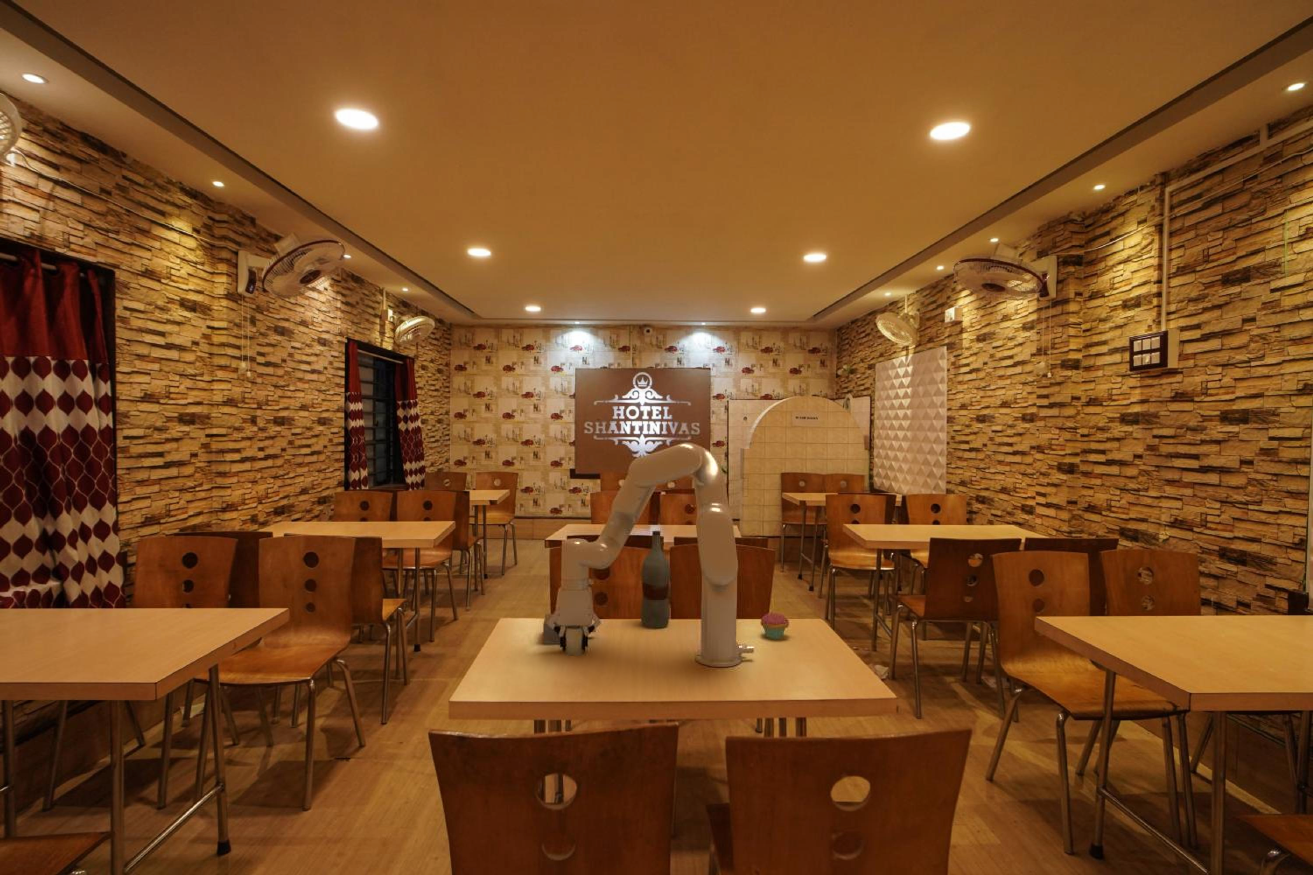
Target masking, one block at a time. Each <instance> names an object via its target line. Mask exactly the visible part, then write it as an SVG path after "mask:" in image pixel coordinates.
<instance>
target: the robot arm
mask: <svg viewBox="0 0 1313 875" xmlns="http://www.w3.org/2000/svg"><path fill="white" fill-rule="evenodd" d="M627 471H628V473H627V476H626V477H625V479H624V481H623V483H622V484H621V487H620V488H619V490H618V491H617V494H616V495H615V498H614V499H613V501H612V505H611V511H610V513H609V516H608V519H607V521H606V523H605V525H604V527H603V529H602V530H601V533H600V534H599V536H598V538H597V539H596V540H595V541H588V540H586V539H585V538H567V539H564V541H563V542H562V543H561V544H562V545H561V575H560V576H561V580H560V584H561V586H560V587H559V588H558V591H557V597H556V604H555V611H556V613H555V614H554V613H553V614H554V615H553V616H552V618H551V619H550V620H549V621H548V626H550V627H551V628H552V629H554V631H555V632H556V633H557V634H558V635H559V636H560V644H559V647H560V648H561V649H562V650H561V651H562V652H565V632H564V631H565V628H566V626H583V630H584V634H583V652H586V648H588V647H589V635H590V634H592V633H593V632H592V631H593V630H594V629H595V628H596V629H597V628H598V627H599V626H600V625H601V624H602V621H601V620H600V618H599V617H598V616H597V614H596V613H595V612H594V604H593V603H594V602H593V601H594V600H593V591H592V587H590V586H591V585H593V586H594V584H595V582H594V581H595V580H594V579H591V578H590V577H589V576H590V575H589V571H590V568H592V569H597V570H598V569H599V570H603V569H604V570H605V569H607V568H609V567H610V566H611V565H612V563H613V562H614V561H615V560H616V559H617V558H618V556H619V554H620V553H621V551H622V549H623V548H624V546H625V544H626V542H627V540H628V538H629V536H630V535H631V533H632V531H633V528H634V527H635V525H637V523H638V522H639V519H640V518H641V515H642V514H643V512H644V510H645V508H646V506H647V505H648V502H649V501H650V499H651V498H652V497H651V496H652V495H653V493H654V492H655V491H656V488H657V487H658V486H660V485H664V484H667V483H670V482H673V481H675V480H678V479H681V478H682V479H683V478H685V477H687V476H690V477H691V479H692V481H693V486H694V487H693V488H694V495H695V500H696V510H697V515H696V516H697V517H696V519H695V528H696V531H695V532H696V539H697V545H698V546H697V547H698V554H699V561H700V569H701V603H700V604H701V608H700V610H701V611H700V614H701V616H700V649H699V650H697V651H695V653H694V659H695V661H696V662H698V663H700V664H702V665H703V666H710V667H715V668H727V667H734V666H737V665H739V664H741V662H742V658H743V657H742V655H743V654H754V650H755V649H754V646H753V645H747V644H746V643H741V644H739V642H738V641H737V607H738V606H737V603H738V571H739V562H738V553H737V552H738V551H737V546H736V544H737V543H736V538H735V530H734V523H733V518H732V514H731V511H730V507H729V501H728V493H727V487H726V481H725V476H724V472H723V469H722V467H721V464H720V462H719V460H718V459H717V457H716V456H715V455H714V454H713V453H712V452H711V451H710V450H708V449H706V448H704V447H703V446H700V445H698V444H696V443H693V442H682V443H679V444H675V445H674V446H670V447H667V448H665V449H662V450H658V451H655V452H653V453H650V454H646V455H643V456H639V457H637V458H635V459H633V461H631V463H630V465H629V467H628V470H627ZM555 620H556V624H557V625H556V624H555V623H554V622H555ZM590 624H592V625H591V626H590V627H589V628H588V625H590ZM558 625H559V626H561V628H560V627H559V626H558Z"/></svg>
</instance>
